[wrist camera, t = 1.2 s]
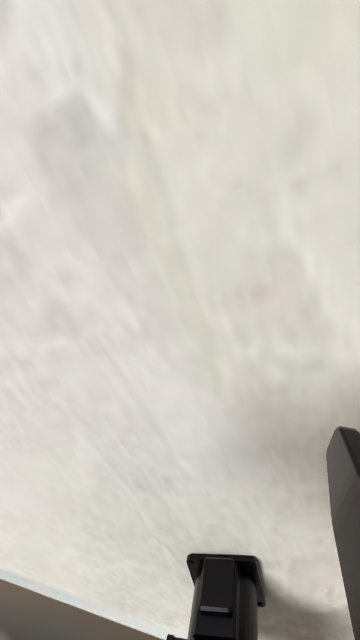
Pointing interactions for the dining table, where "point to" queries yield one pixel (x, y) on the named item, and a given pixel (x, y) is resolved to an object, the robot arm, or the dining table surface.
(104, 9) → the dining table surface
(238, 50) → the dining table surface
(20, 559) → the dining table surface
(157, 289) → the dining table surface
